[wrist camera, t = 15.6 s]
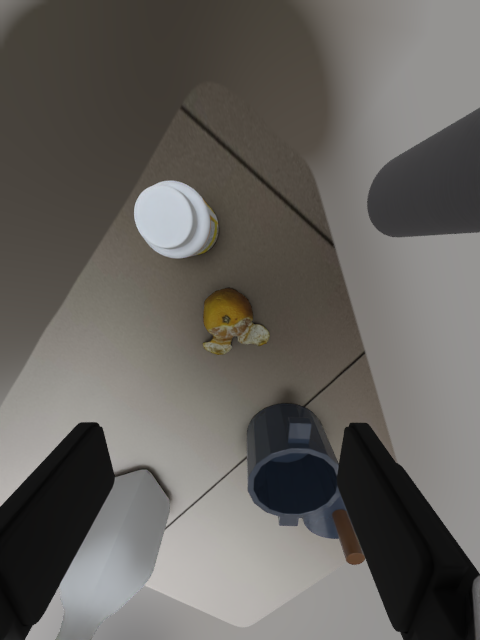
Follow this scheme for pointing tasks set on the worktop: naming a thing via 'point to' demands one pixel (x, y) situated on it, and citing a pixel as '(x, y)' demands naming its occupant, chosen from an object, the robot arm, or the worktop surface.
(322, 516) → the lid
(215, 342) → the fruit
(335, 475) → the pot
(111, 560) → the soap bottle
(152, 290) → the worktop surface
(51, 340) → the worktop surface
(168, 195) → the supplement bottle
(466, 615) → the robot arm
